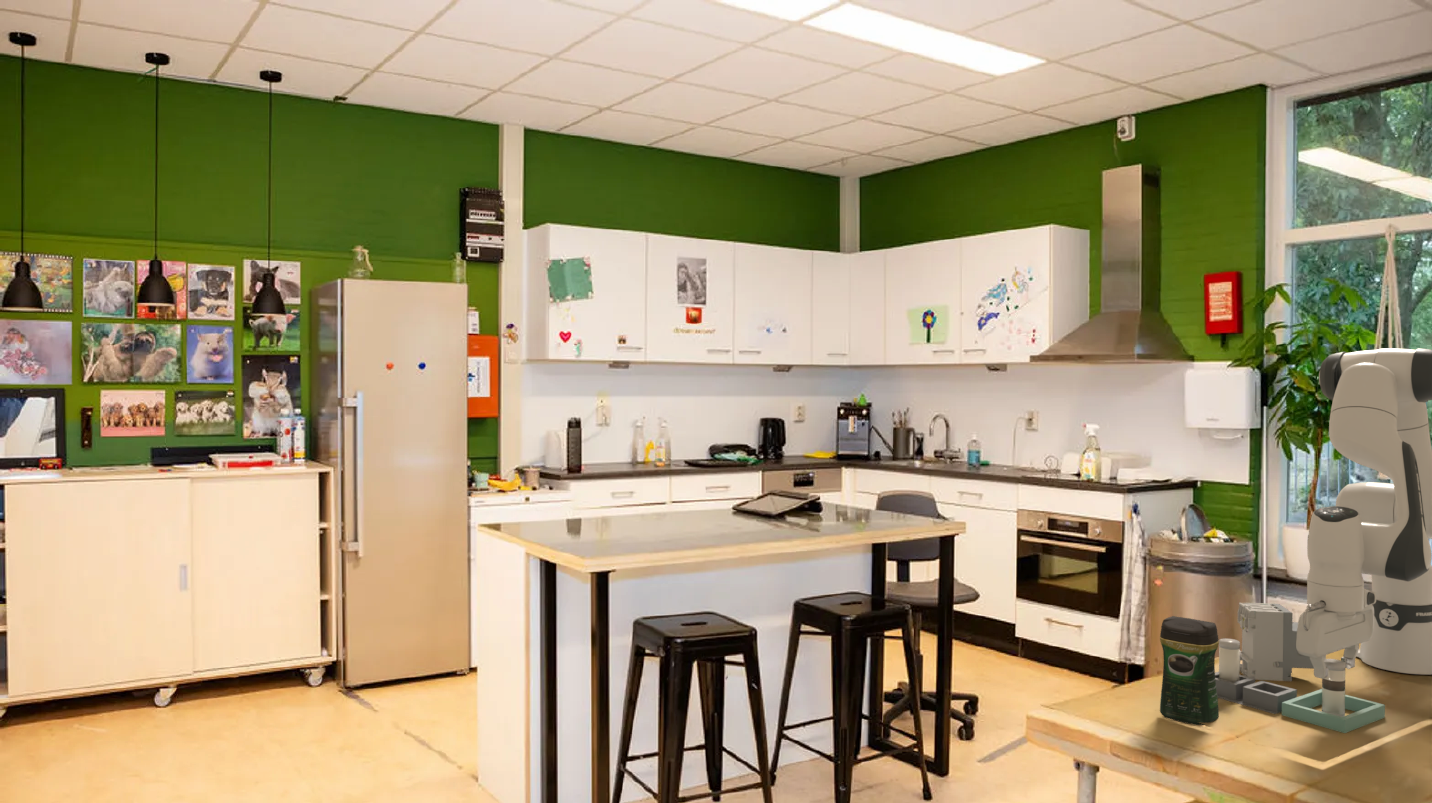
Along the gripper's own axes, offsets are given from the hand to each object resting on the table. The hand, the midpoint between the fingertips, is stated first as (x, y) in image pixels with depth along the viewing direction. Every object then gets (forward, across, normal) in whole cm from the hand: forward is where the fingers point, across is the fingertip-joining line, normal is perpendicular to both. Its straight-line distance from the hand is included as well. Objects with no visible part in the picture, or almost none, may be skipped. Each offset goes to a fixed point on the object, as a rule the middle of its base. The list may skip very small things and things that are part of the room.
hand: (1334, 672), depth 187 cm
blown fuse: (+8, 0, 0) cm, 8 cm away
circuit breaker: (+10, +16, +18) cm, 26 cm away
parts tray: (+9, 0, 0) cm, 9 cm away
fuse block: (+9, -4, +14) cm, 17 cm away
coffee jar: (+9, -20, +16) cm, 27 cm away
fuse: (+8, -4, +18) cm, 20 cm away
